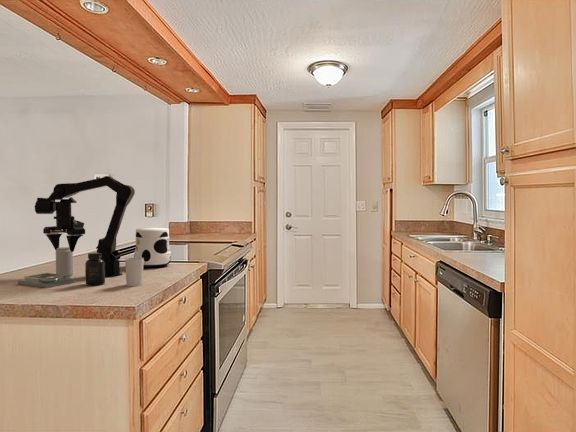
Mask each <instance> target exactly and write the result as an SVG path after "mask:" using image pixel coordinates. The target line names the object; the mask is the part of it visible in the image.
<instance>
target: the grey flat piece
mask: <svg viewBox="0 0 576 432" xmlns="http://www.w3.org/2000/svg"><path fill="white" fill-rule="evenodd" d="M75 282H76V277H75V278H74V277H63V274H56V272H54V273H53V272H44V273H43V272H42V273H37V274H30V275H26V276H24V278H23V279H18V280H17V284H18V285H22V286H23V285H24V286H29V287H36V288H44V289H49V288H53V287H57V286H63V285H68V284H69V285H70V284H72V283H75Z"/></svg>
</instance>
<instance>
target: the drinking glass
mask: <svg viewBox="0 0 576 432" xmlns="http://www.w3.org/2000/svg"><path fill="white" fill-rule="evenodd" d="M143 263H144V258H140V257H134V256H133V257H127V258H125V259H124V265H125V280H126V287H127V286H128V287H139V285H140V286H143V283H144V267H143Z"/></svg>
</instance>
